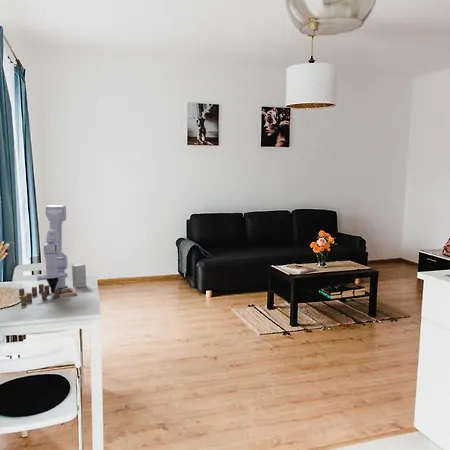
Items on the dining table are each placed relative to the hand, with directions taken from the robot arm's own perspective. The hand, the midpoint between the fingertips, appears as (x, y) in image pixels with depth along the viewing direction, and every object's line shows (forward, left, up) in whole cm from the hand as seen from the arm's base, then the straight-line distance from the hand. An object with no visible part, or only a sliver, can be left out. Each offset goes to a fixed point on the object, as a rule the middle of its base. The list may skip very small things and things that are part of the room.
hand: (53, 292), depth 241 cm
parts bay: (0, +5, -1) cm, 6 cm away
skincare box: (-11, +16, -2) cm, 19 cm away
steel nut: (0, +4, -1) cm, 4 cm away
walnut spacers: (0, -8, -1) cm, 8 cm away
